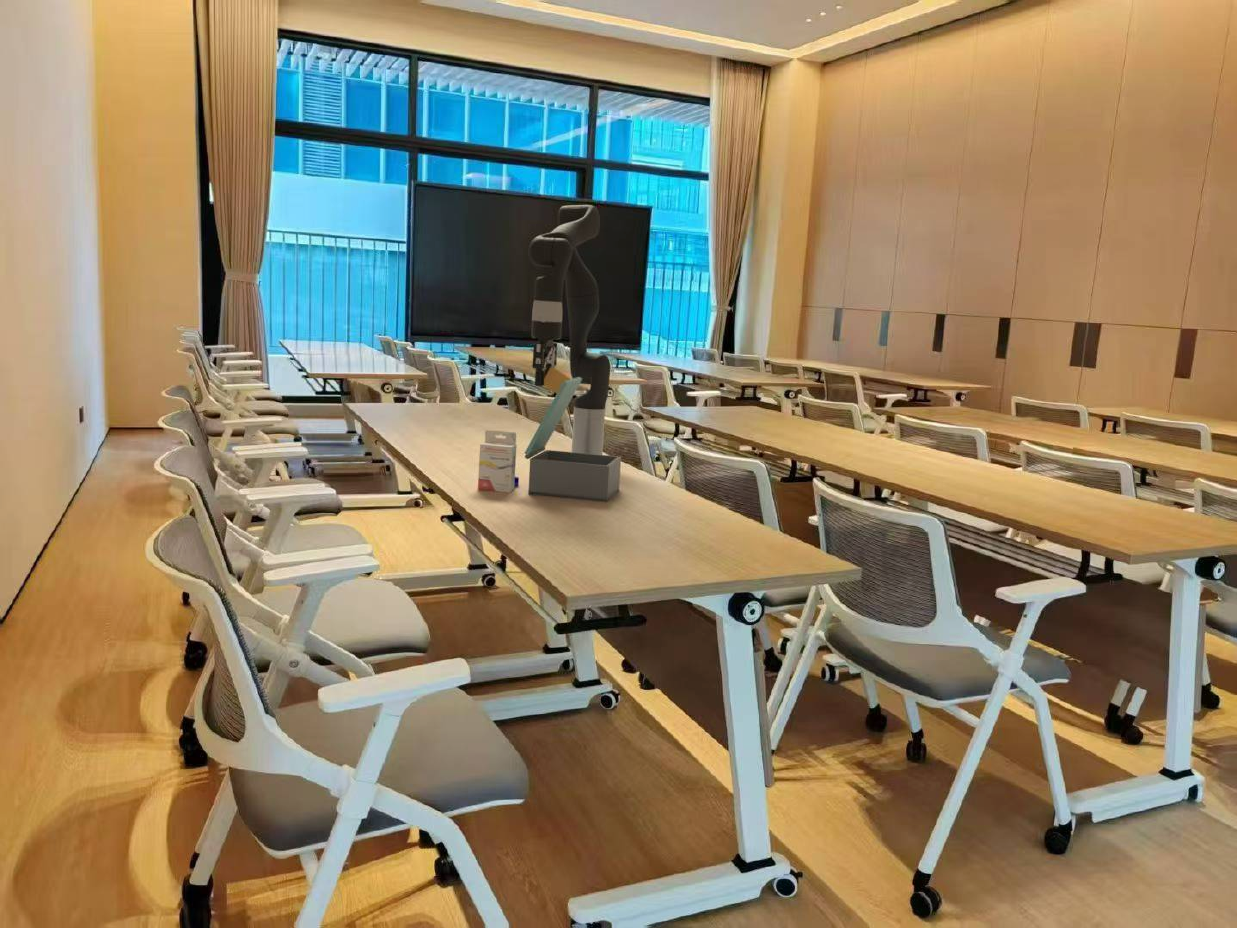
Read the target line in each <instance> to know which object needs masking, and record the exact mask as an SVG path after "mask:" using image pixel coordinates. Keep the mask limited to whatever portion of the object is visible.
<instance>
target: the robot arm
mask: <svg viewBox="0 0 1237 928" xmlns="http://www.w3.org/2000/svg"><path fill="white" fill-rule="evenodd" d="M557 214H558V216H557V222H558V225H557V227H555V228H554V229H552V230H551V232H547V233H544V234H540V235H538V236H536V237H534V238H533V239H532V240H531V241H530V244H529V247H528V251H527V253H528V259H529V260H530V262H531V263H532V264H533V265H534V266H537V267H543V268H544V267H545V268H554V270H553V271H552V273H551V274H549V275H545V276H544V275H543V276H538V277H537V278H536V279H535V281H534V289H533V291H534V292H533V295H534V296H533V305H532V311H531V313H532V314H531V330H530V332H531V335H530V337H531V338H532V339H538V343H533V349H532V350H533V351H532V365H531V366H532V369H533V370H534V371H535V373H534V375H535V376H534V386H535V387H536V386H537V387H544V386H543V385H544V378H545V377H546V375H547V373H548V371H549V369H550V367H554V368H556V367H557V365H558V363H557V362H558V361H557V360H558V342H554V341H555V340H556V341H558V340H562V333H563V332H562V331H563V330H562V328H563V292H564V282H565V296H566V306H567V313H568V315H567V316H568V326H569V328H568V329H569V369H570V370H569V371H570V376H571V378H572V379H573V378H577V377H580V378H582V381H581V382H580V384H582V385H590V387H589V390H588V392H586V393H584V394H582V395H577V396H575V398H574V403H573V419H572V423H573V424H572V437H571V438H572V439H571V440H572V441H571V452H576V453H586V454H597V455H603V451H604V436H605V435H604V434H605V419H606V418H605V415H606V414H605V413H606V403H607V400H608V395H609V387H610V377H611V362H610V359H609V357H608V356H607V355H606V354H604V353H597V352H596V353H595V352H588V349H587V348H588V347H587V341H588V340H587V339H588V335H589V332H590V329H591V328H592V325H593V324H594V322H595V320H596V318H597V316H598V314H599V311H600V297H599V296H600V295H599V294H600V293H599V286H598V282H597V281H596V279H595V277H594V276H593V274H592V273H591V271H590V270H589V269H588V268H587V266H586V265H585V263H584V262H583V260H582V258H581V257H580V255H579V253H578V250H577V247H578V246H579V245H581V244H584V243H586V242H587V241H588V240H591V239H592V240H593V239H594V238H596V237H597V236H598V234H599V232H600V227H601V217H600V212H599V210H598V208H597V207H596V206H594V205H590V204H578V205H577V204H575V205H573V204H572V205H571V204H570V205H562V206H561V207H560V208H559V210H558V213H557Z"/></svg>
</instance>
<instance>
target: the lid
mask: <svg viewBox="0 0 1237 928" xmlns="http://www.w3.org/2000/svg"><path fill="white" fill-rule="evenodd" d="M581 381H582V378H580V377H577V378H572V377H570V376H569V375H567V374H566V373H563V372H562V371H560V370H559V369H558V368H556V367H550V369H549V371H548V373H547V375H546V377H545V378H544V385H543V386H542V387H545V388H547V389H548V390H550V391H551V392H554V394H555V393H556V395H554V396H555V397H554V398H553V400H552V402H551V403H550V406H549V408H548V409H547V411H546V413H545V415H544V417H543V419H542V420H541V423H540V424H539V426H538V427H537V429H536V431H535V433H534V435H533V437H532V439H531V440H530V441H529V444H528V446H527V448H526V450H525V451H524V454H525V456H524V458H525V459H526V460H530V459H531V458H533V457H534V456H536V455H538V454H540V453H542V452H544V451H546V446H547V445H548V444H547V443H548V442H549V441H550V439H551V437H552V435H553V433H554V431H555V430H556V428H557V427H558V424H559V423H560V420H561V418H562V416H563V415H564V414H565V412H566V410H567V408H568V406H569V404H570V402H571V400H572V399H573V396H574V395H575V393H576V391H577V389H578V388H579V386H580V384H581V383H580V382H581Z"/></svg>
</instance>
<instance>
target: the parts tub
mask: <svg viewBox="0 0 1237 928" xmlns="http://www.w3.org/2000/svg"><path fill="white" fill-rule="evenodd" d="M621 464H622V456H618V455H617V456H616V455H607V454H605V455H604V454H602V455H597V454H586V453H576V452H572V451H564V450H563V451H562V450H553V449H545V450H544V451H542V452H540V453H538V454H536V455H534V456H533V457H531V458H529V473H528V474H529V476H528V495H533V496H541V497H550V498H551V497H552V498H560V499H561V498H562V499H572V500H584V501H593V502H603V503H607V502H609V500H611V498H613V497H614V496H615V494H616V493H618V492H619V490H620V479H621Z"/></svg>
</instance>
